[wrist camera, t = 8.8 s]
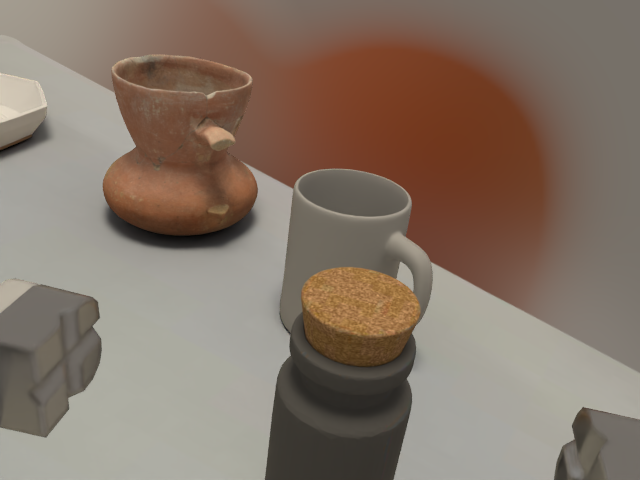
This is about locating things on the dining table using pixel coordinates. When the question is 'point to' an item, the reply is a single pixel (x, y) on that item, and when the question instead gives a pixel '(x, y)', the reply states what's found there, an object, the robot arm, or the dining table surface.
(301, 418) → the bottle
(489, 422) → the dining table surface
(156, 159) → the ceramic jug
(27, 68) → the dining table surface
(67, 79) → the dining table surface
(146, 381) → the dining table surface
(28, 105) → the pan
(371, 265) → the mug
